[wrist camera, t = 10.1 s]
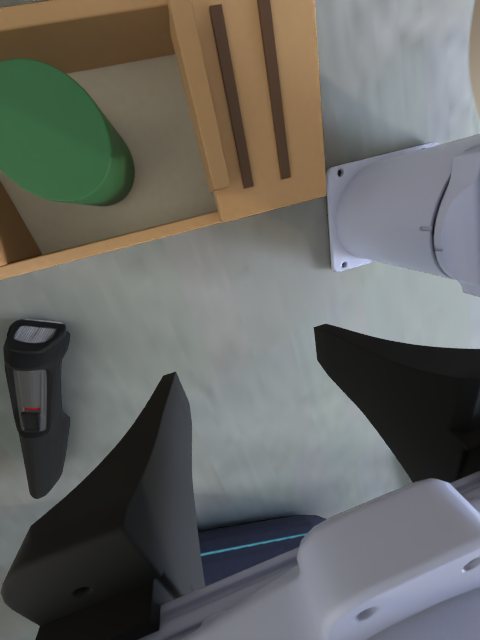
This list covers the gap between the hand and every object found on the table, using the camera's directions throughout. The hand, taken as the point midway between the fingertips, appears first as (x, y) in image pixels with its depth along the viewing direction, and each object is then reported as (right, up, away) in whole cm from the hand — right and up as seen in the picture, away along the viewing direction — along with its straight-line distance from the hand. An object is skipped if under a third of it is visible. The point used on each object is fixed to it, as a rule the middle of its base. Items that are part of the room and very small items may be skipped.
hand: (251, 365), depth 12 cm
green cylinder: (-9, +11, +2) cm, 14 cm away
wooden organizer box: (-6, +13, +4) cm, 15 cm away
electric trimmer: (-16, -5, +9) cm, 19 cm away
